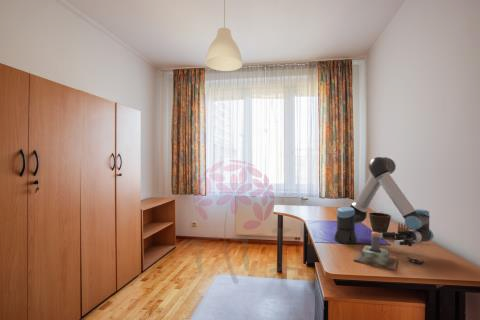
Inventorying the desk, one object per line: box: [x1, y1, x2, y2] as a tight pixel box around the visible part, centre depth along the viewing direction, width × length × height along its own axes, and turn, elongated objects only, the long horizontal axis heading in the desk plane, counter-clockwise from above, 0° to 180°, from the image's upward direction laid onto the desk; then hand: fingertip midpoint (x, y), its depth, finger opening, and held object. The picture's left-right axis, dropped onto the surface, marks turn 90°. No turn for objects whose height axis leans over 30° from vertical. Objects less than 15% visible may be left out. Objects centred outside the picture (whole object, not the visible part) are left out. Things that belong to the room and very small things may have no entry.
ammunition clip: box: [397, 221, 414, 234], centre depth 179 cm, size 11×2×12 cm, turn 41°
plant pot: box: [368, 212, 392, 233], centre depth 189 cm, size 15×15×16 cm
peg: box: [370, 231, 380, 253], centre depth 138 cm, size 4×4×15 cm
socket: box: [352, 245, 398, 271], centre depth 138 cm, size 20×16×6 cm
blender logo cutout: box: [406, 257, 424, 266], centre depth 139 cm, size 9×8×1 cm
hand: (383, 239), depth 140 cm, fingers open, 13 cm apart
